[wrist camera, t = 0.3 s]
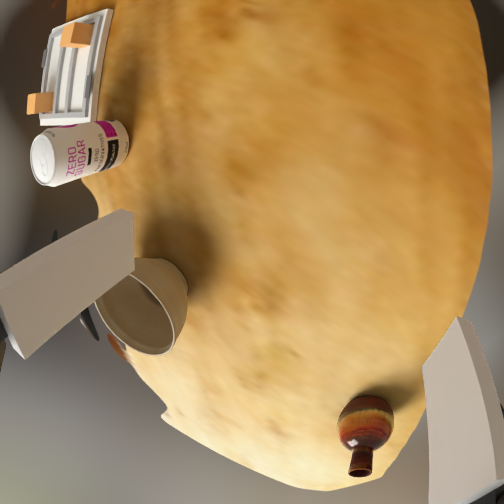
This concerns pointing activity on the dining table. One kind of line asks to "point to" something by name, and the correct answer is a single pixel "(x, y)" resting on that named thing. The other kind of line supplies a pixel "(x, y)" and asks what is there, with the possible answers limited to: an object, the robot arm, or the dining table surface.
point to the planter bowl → (147, 306)
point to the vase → (364, 431)
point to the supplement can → (78, 151)
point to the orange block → (76, 35)
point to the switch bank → (75, 73)
